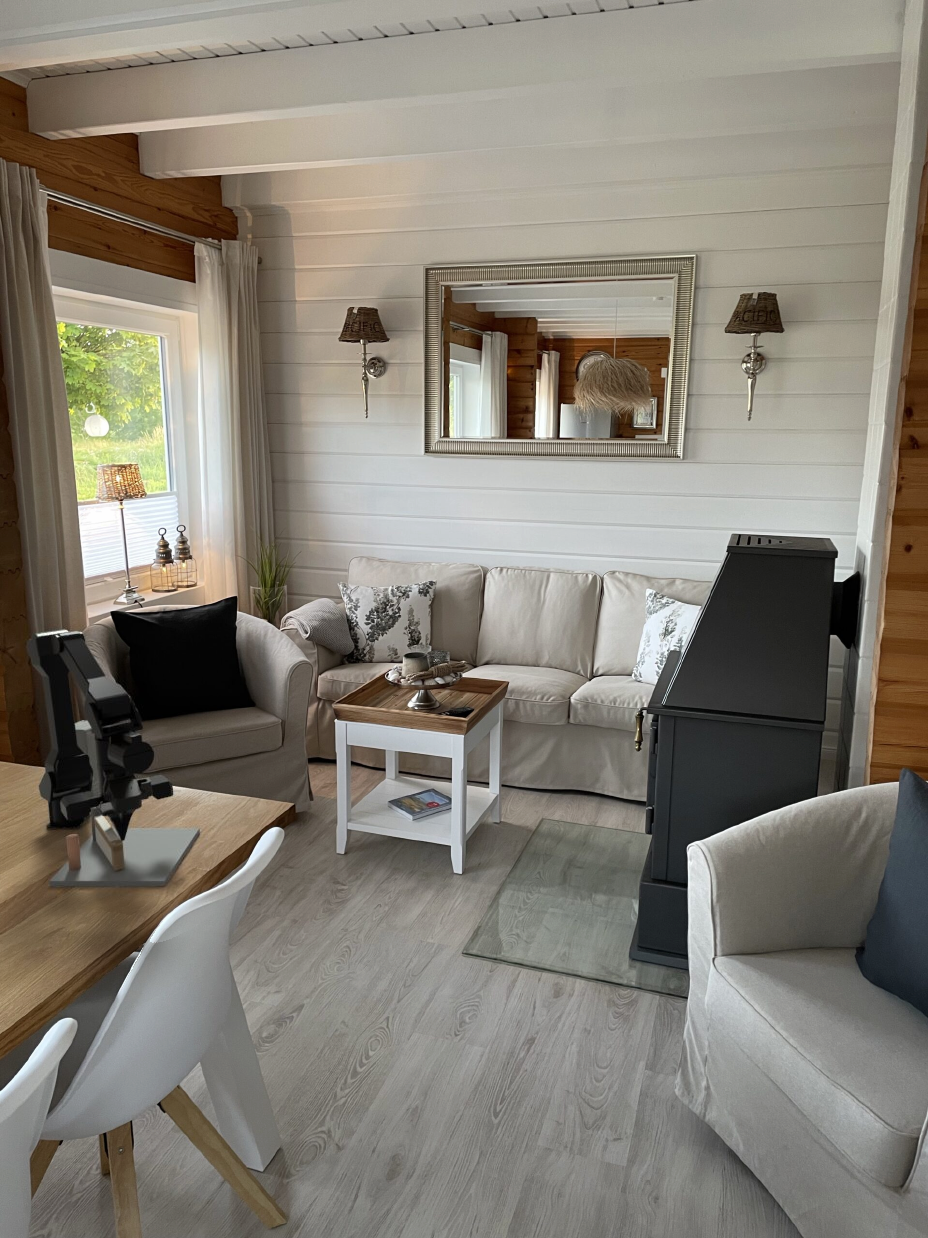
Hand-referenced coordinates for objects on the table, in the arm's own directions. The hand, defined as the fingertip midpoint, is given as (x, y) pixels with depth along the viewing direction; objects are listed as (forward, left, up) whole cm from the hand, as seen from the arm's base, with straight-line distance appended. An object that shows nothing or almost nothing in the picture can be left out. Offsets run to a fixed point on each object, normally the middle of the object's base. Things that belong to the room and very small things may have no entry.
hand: (122, 840), depth 168 cm
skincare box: (-19, +32, -4) cm, 38 cm away
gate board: (+1, 0, -4) cm, 4 cm away
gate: (-2, -1, -2) cm, 3 cm away
